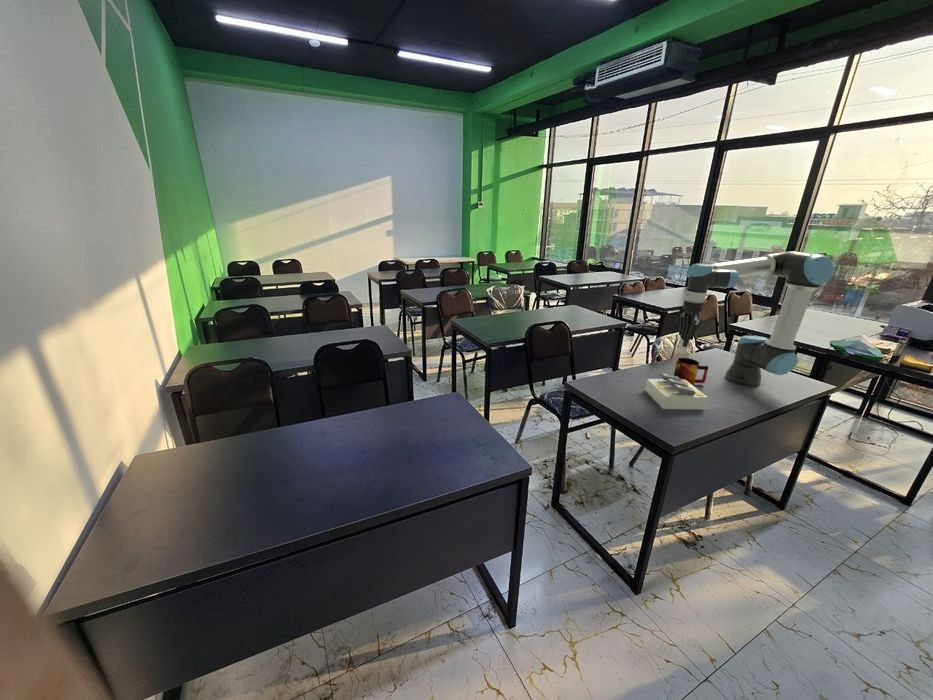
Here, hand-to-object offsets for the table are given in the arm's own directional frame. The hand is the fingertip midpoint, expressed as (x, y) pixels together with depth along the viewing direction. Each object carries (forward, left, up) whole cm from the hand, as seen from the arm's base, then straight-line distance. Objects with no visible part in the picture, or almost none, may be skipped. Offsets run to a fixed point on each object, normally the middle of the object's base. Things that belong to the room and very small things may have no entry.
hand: (681, 352), depth 176 cm
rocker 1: (+2, -1, -13) cm, 13 cm away
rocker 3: (+2, +11, -13) cm, 17 cm away
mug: (-14, -13, -21) cm, 29 cm away
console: (+2, +5, -21) cm, 22 cm away
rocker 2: (+2, +5, -13) cm, 14 cm away
